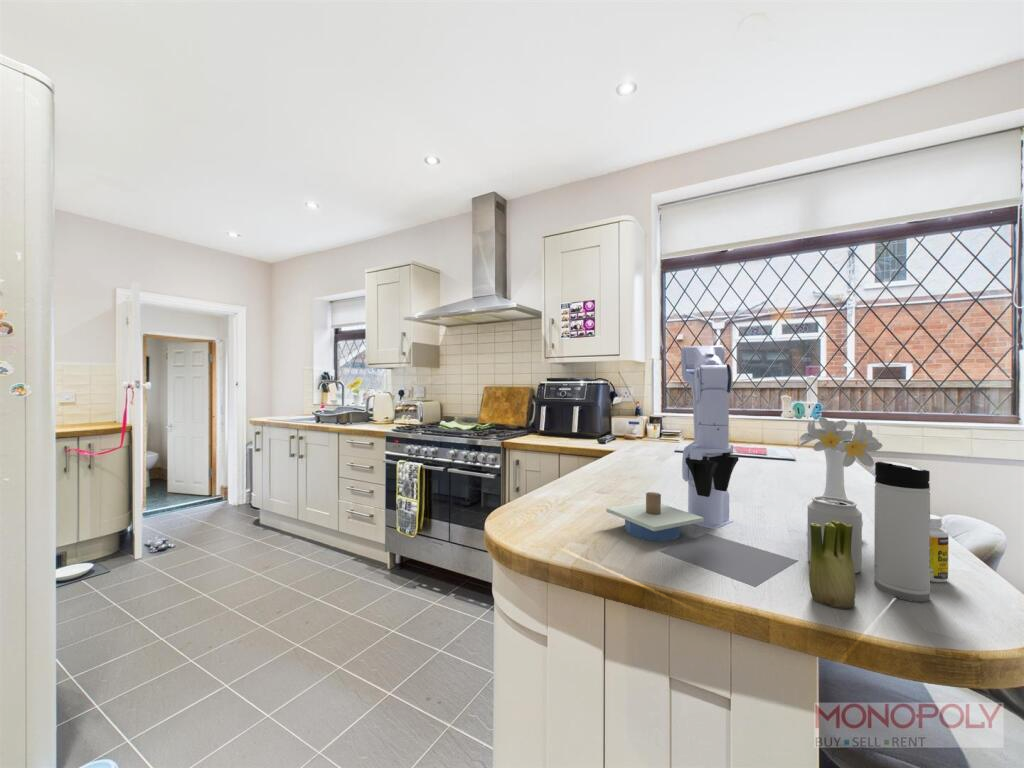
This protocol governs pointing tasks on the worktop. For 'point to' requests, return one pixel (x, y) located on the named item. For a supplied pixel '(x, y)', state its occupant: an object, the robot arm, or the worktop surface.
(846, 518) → the can
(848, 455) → the flower vase
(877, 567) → the travel mug
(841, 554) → the fennel bulb
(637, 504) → the lid
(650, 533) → the bowl
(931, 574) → the supplement bottle
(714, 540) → the mat
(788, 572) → the worktop surface
